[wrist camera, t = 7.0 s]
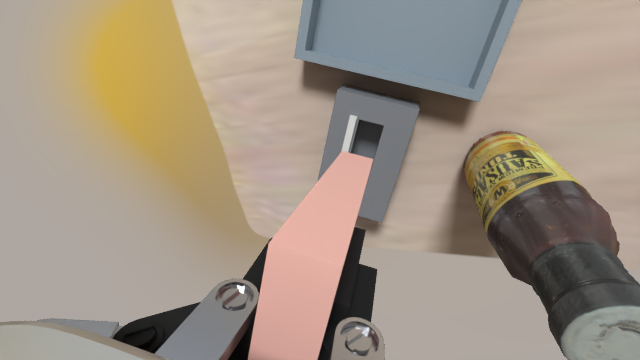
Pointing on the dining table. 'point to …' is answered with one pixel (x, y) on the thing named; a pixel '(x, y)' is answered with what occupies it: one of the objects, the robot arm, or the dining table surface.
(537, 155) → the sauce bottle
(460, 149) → the dining table surface
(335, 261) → the ticket
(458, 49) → the tray
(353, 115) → the dispenser
